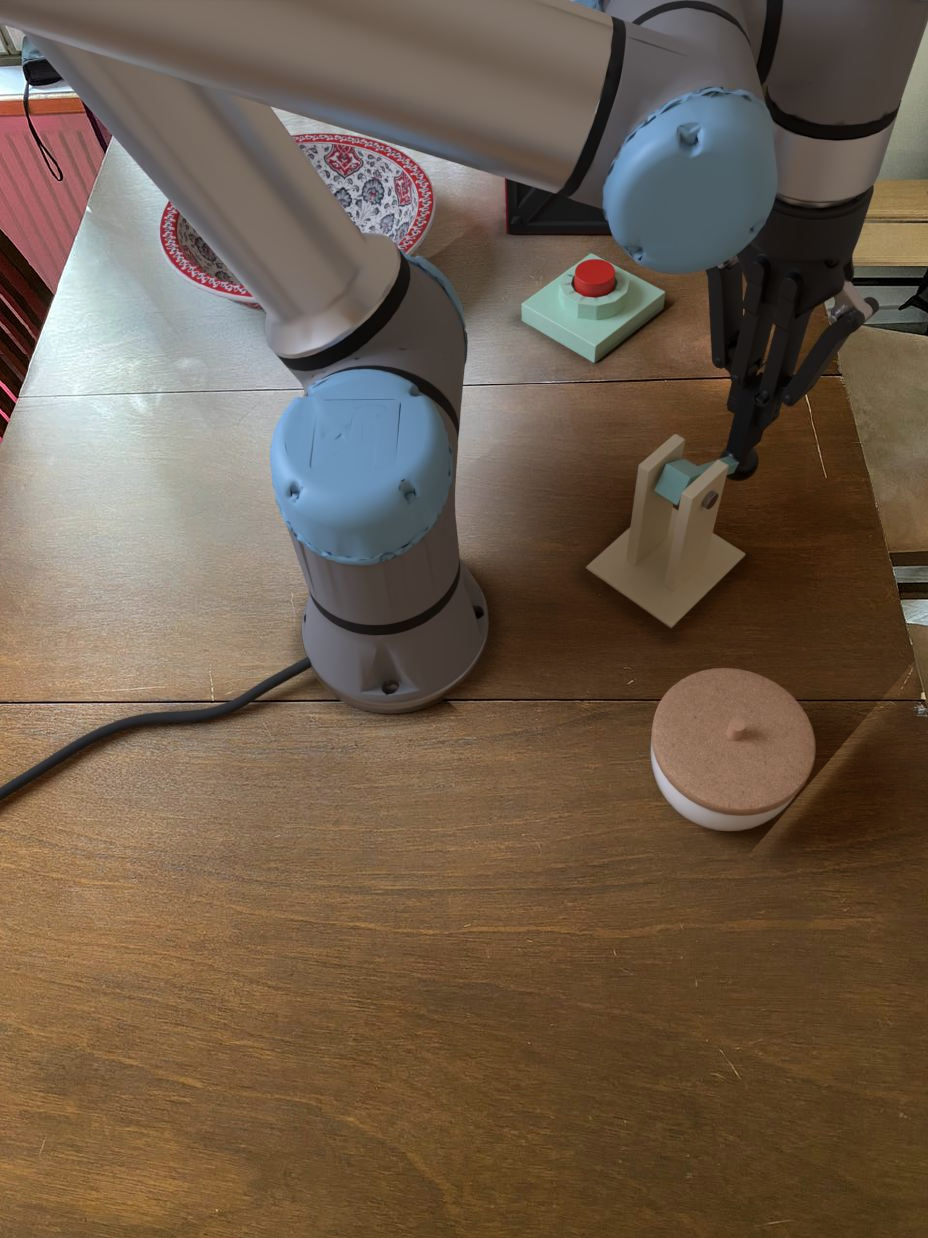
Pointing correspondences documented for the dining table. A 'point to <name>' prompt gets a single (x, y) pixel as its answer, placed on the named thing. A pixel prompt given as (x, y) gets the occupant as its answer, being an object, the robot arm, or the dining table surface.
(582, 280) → the button
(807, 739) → the trinket box
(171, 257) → the ceramic bowl
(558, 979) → the dining table surface
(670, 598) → the bracket
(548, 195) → the black and red jerrycan
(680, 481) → the switch
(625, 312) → the button box
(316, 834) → the dining table surface
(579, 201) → the robot arm
